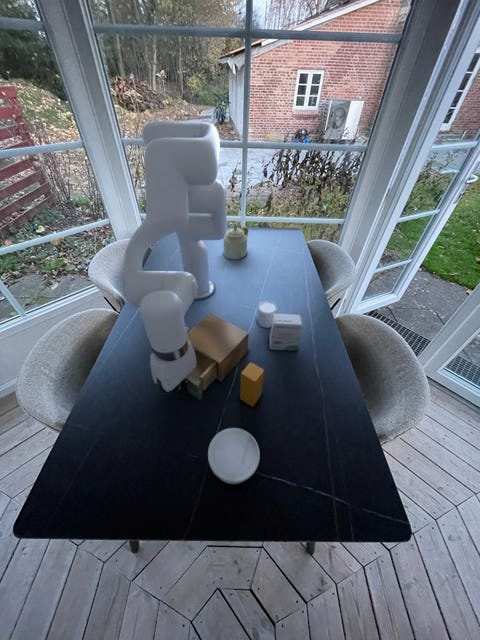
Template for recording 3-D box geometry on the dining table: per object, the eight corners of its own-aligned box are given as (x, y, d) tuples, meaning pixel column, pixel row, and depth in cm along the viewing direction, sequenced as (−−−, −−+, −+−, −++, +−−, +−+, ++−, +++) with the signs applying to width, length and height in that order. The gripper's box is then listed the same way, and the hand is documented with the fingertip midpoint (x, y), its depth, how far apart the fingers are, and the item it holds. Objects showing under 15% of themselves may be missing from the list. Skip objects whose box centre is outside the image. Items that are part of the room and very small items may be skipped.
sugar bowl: (226, 243, 136) (225, 214, 126) (247, 245, 135) (249, 216, 125) (222, 258, 125) (221, 228, 115) (245, 260, 125) (246, 229, 114)
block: (239, 398, 72) (240, 373, 64) (248, 387, 75) (250, 361, 67) (252, 407, 71) (255, 381, 62) (261, 395, 73) (264, 369, 65)
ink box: (294, 339, 89) (300, 313, 80) (296, 351, 85) (303, 325, 77) (269, 338, 89) (272, 312, 81) (269, 350, 85) (273, 323, 77)
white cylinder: (274, 330, 92) (276, 315, 87) (254, 327, 93) (256, 312, 88) (276, 317, 96) (278, 302, 92) (257, 314, 97) (259, 299, 93)
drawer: (196, 403, 70) (194, 389, 65) (161, 378, 76) (156, 363, 71) (228, 368, 78) (227, 354, 74) (194, 348, 84) (191, 333, 79)
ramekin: (265, 480, 58) (267, 472, 55) (215, 496, 56) (214, 489, 52) (249, 431, 66) (250, 421, 62) (205, 444, 63) (203, 434, 60)
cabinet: (221, 381, 76) (220, 363, 70) (183, 357, 82) (179, 338, 76) (247, 351, 84) (248, 332, 78) (212, 332, 90) (210, 313, 84)
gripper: (182, 318, 62) (191, 365, 74) (129, 359, 53) (149, 405, 65) (207, 331, 59) (211, 379, 71) (155, 377, 50) (170, 422, 62)
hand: (181, 391), depth 68 cm, fingers closed
